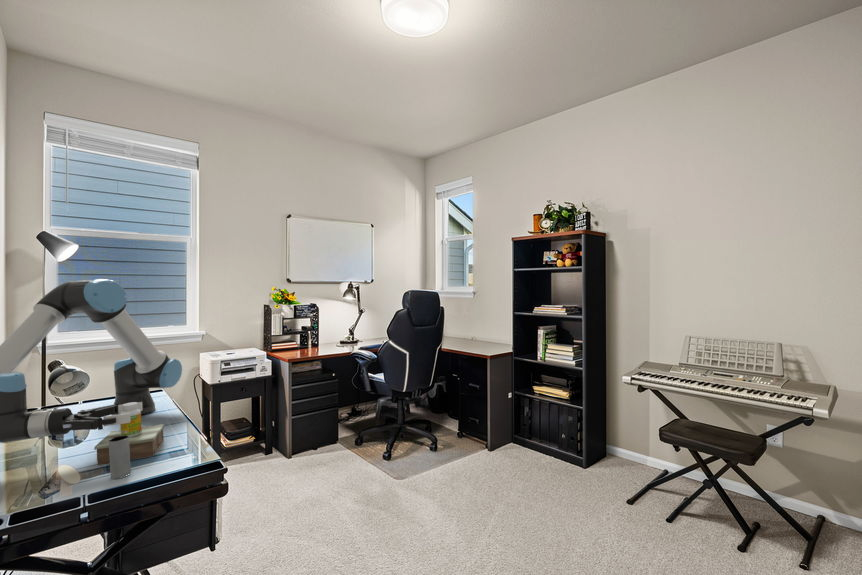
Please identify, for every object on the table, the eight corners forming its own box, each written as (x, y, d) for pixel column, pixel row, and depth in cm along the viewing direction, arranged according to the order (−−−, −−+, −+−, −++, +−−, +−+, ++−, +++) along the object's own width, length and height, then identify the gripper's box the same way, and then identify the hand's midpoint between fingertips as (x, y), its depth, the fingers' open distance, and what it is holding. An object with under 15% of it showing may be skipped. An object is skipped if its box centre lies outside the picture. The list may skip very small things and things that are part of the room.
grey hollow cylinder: (128, 477, 118) (125, 439, 117) (108, 480, 116) (105, 442, 116) (133, 470, 122) (131, 434, 122) (114, 473, 120) (111, 436, 120)
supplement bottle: (129, 438, 133) (127, 406, 132) (116, 437, 134) (115, 405, 134) (145, 432, 138) (144, 401, 137) (134, 431, 139) (132, 401, 139)
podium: (112, 448, 140) (111, 431, 140) (165, 440, 146) (164, 424, 145) (95, 466, 126) (94, 446, 126) (154, 456, 132) (153, 438, 132)
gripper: (70, 423, 140) (147, 413, 148) (31, 449, 117) (124, 436, 125) (69, 400, 140) (145, 391, 148) (30, 422, 117) (123, 410, 125)
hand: (136, 411), depth 136 cm, fingers open, 13 cm apart
